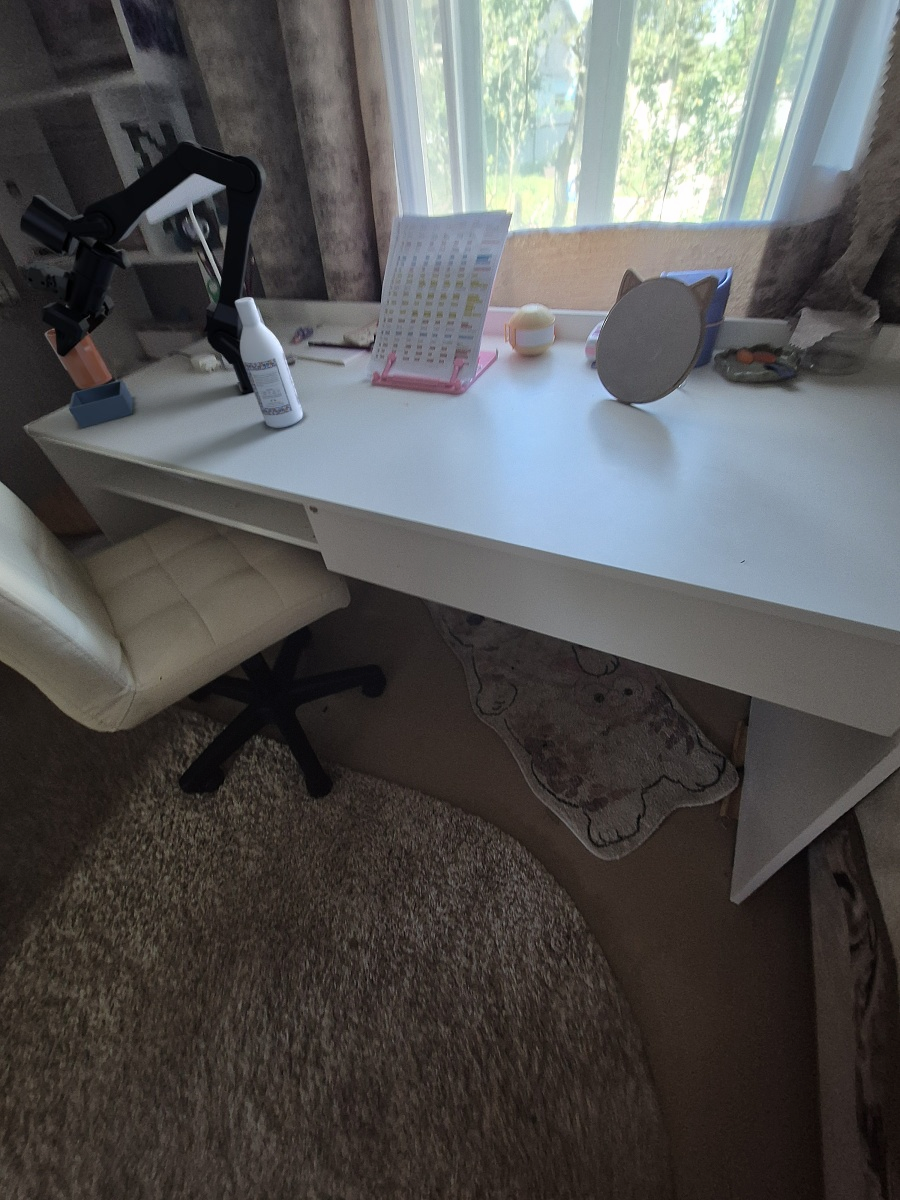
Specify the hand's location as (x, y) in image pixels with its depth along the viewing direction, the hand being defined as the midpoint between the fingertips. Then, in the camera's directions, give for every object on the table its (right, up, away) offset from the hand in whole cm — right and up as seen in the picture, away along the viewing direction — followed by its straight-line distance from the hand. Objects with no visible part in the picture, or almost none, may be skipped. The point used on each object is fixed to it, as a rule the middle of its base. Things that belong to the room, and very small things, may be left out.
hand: (67, 348), depth 102 cm
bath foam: (+44, -16, -5) cm, 47 cm away
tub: (+2, -9, +8) cm, 13 cm away
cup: (+2, -5, +5) cm, 7 cm away
